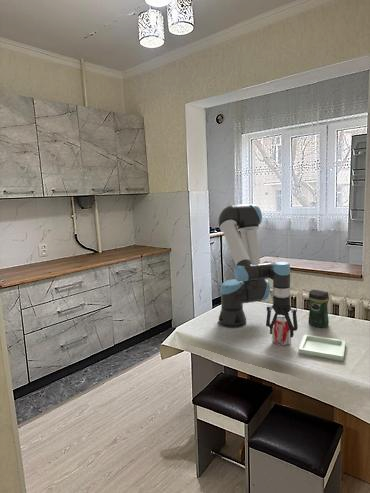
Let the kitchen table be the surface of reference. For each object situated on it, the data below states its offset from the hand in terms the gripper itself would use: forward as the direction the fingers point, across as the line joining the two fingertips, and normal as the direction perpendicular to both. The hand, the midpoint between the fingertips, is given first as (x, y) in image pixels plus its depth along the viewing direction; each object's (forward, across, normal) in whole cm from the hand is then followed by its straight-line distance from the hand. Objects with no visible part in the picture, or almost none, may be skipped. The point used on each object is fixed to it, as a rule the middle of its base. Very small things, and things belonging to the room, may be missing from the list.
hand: (281, 341), depth 163 cm
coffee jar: (+1, +13, +28) cm, 31 cm away
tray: (+1, +18, 0) cm, 18 cm away
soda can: (+1, 0, 0) cm, 1 cm away
